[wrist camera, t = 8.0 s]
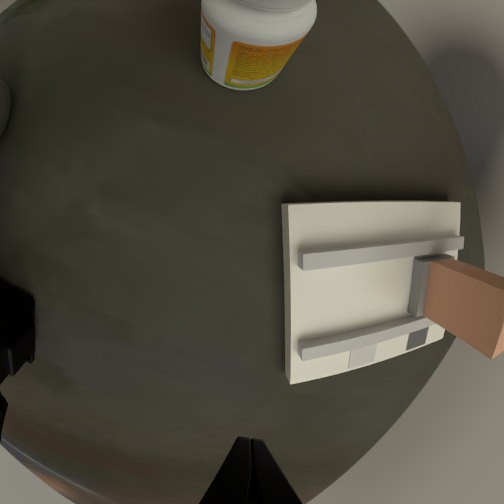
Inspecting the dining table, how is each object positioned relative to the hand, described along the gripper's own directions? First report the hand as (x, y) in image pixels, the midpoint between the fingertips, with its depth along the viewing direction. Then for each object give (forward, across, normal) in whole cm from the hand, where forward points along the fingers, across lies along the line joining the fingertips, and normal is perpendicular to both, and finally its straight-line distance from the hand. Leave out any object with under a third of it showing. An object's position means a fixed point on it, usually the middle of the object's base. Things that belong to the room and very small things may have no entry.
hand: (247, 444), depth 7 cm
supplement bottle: (+12, +5, -16) cm, 21 cm away
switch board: (+14, -10, -3) cm, 17 cm away
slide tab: (+13, -14, -4) cm, 19 cm away
